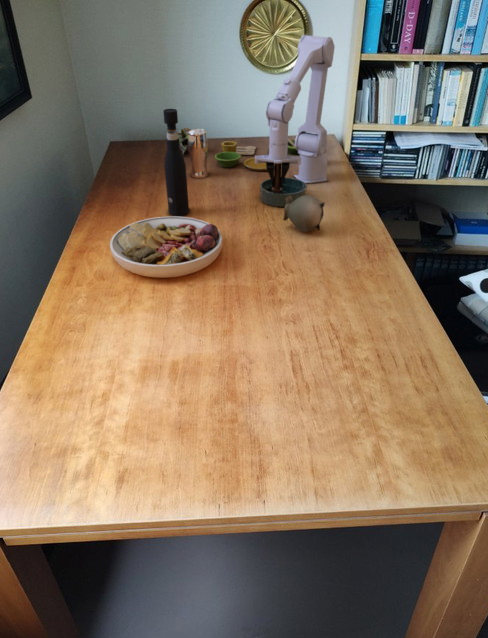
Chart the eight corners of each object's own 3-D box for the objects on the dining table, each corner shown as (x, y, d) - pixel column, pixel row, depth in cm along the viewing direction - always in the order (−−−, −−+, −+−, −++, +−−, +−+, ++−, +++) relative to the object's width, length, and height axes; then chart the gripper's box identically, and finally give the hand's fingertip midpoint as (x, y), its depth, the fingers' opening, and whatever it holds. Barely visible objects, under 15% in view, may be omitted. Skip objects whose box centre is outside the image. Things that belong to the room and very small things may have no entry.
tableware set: (325, 150, 220) (326, 134, 216) (324, 175, 199) (325, 157, 195) (224, 146, 224) (223, 130, 220) (212, 170, 203) (211, 152, 199)
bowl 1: (118, 290, 137) (113, 262, 132) (108, 239, 159) (104, 213, 154) (234, 274, 143) (233, 246, 138) (209, 227, 165) (208, 201, 160)
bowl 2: (295, 188, 189) (296, 175, 187) (312, 204, 178) (313, 191, 175) (253, 193, 186) (253, 180, 183) (268, 210, 175) (268, 196, 172)
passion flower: (190, 164, 224) (206, 139, 218) (182, 168, 214) (199, 142, 209) (168, 146, 222) (183, 120, 216) (159, 149, 213) (175, 122, 207)
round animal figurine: (294, 219, 170) (296, 186, 163) (329, 227, 165) (333, 194, 158) (278, 231, 163) (279, 197, 156) (315, 240, 158) (318, 206, 152)
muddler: (281, 195, 182) (283, 160, 176) (282, 198, 179) (284, 163, 173) (270, 195, 182) (271, 160, 176) (271, 198, 179) (272, 163, 173)
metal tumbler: (208, 178, 197) (206, 134, 187) (189, 178, 197) (185, 134, 187) (209, 171, 202) (207, 128, 192) (190, 171, 202) (188, 128, 192)
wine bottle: (190, 208, 176) (183, 107, 157) (187, 216, 171) (179, 113, 152) (171, 207, 177) (161, 107, 158) (166, 216, 172) (156, 113, 153)
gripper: (254, 146, 167) (254, 190, 176) (302, 147, 167) (299, 191, 175) (255, 139, 173) (255, 182, 181) (301, 139, 172) (299, 182, 181)
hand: (277, 185), depth 179 cm, fingers closed on muddler, 2 cm apart
